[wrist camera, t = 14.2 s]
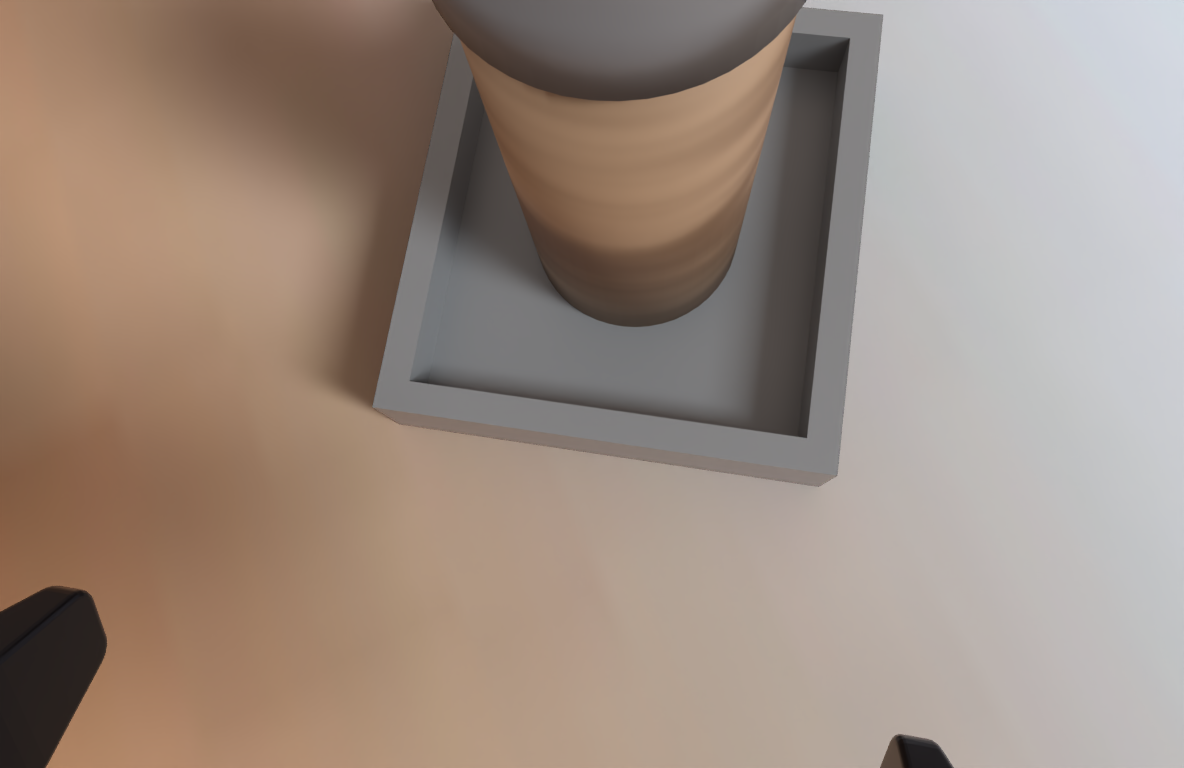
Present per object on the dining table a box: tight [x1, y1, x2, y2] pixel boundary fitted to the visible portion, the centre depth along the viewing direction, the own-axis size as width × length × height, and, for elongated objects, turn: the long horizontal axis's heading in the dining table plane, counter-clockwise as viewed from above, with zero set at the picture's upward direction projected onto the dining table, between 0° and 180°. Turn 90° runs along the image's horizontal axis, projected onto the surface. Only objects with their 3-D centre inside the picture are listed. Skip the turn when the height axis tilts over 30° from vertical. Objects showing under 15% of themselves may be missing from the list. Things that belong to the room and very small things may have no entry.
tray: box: [373, 7, 883, 487], centre depth 24 cm, size 13×12×2 cm
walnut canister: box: [432, 0, 806, 327], centre depth 18 cm, size 6×6×14 cm
